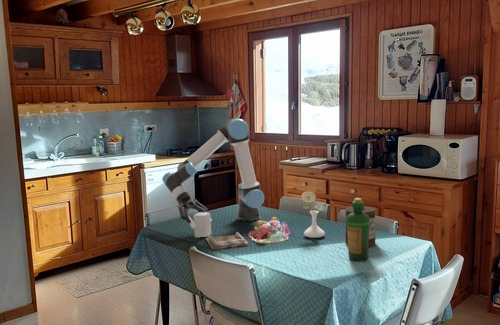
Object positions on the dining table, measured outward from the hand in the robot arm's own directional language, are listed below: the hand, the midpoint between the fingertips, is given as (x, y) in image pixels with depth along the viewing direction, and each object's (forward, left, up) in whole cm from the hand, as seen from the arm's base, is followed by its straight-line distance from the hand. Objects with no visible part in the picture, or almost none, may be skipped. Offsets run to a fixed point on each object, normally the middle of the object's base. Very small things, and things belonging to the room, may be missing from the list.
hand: (202, 224), depth 261 cm
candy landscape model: (-35, +14, -7) cm, 38 cm away
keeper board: (-10, +17, -7) cm, 21 cm away
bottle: (-61, +64, -7) cm, 89 cm away
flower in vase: (-56, +23, -7) cm, 61 cm away
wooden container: (-73, +44, -7) cm, 86 cm away
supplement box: (0, -1, -7) cm, 7 cm away
